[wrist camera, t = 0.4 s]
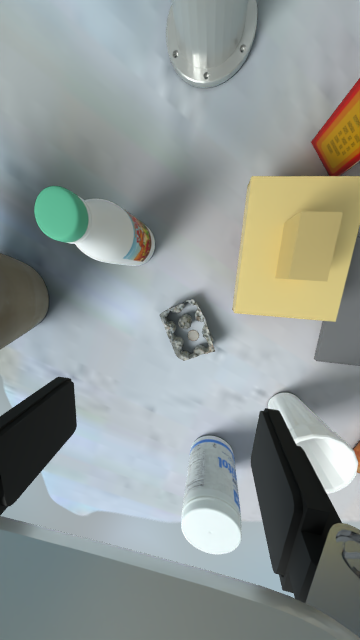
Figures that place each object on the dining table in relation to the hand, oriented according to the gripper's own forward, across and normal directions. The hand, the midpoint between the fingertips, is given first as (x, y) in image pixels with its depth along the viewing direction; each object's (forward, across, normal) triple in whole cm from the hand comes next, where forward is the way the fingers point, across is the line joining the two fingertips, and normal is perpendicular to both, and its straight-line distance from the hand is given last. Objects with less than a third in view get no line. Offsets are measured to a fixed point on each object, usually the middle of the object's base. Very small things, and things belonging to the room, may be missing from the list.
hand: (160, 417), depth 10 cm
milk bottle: (+30, +12, -11) cm, 34 cm away
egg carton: (+30, +1, +4) cm, 30 cm away
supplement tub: (+29, -6, +32) cm, 44 cm away
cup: (+29, -19, +18) cm, 39 cm away
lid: (+24, -13, -10) cm, 29 cm away
